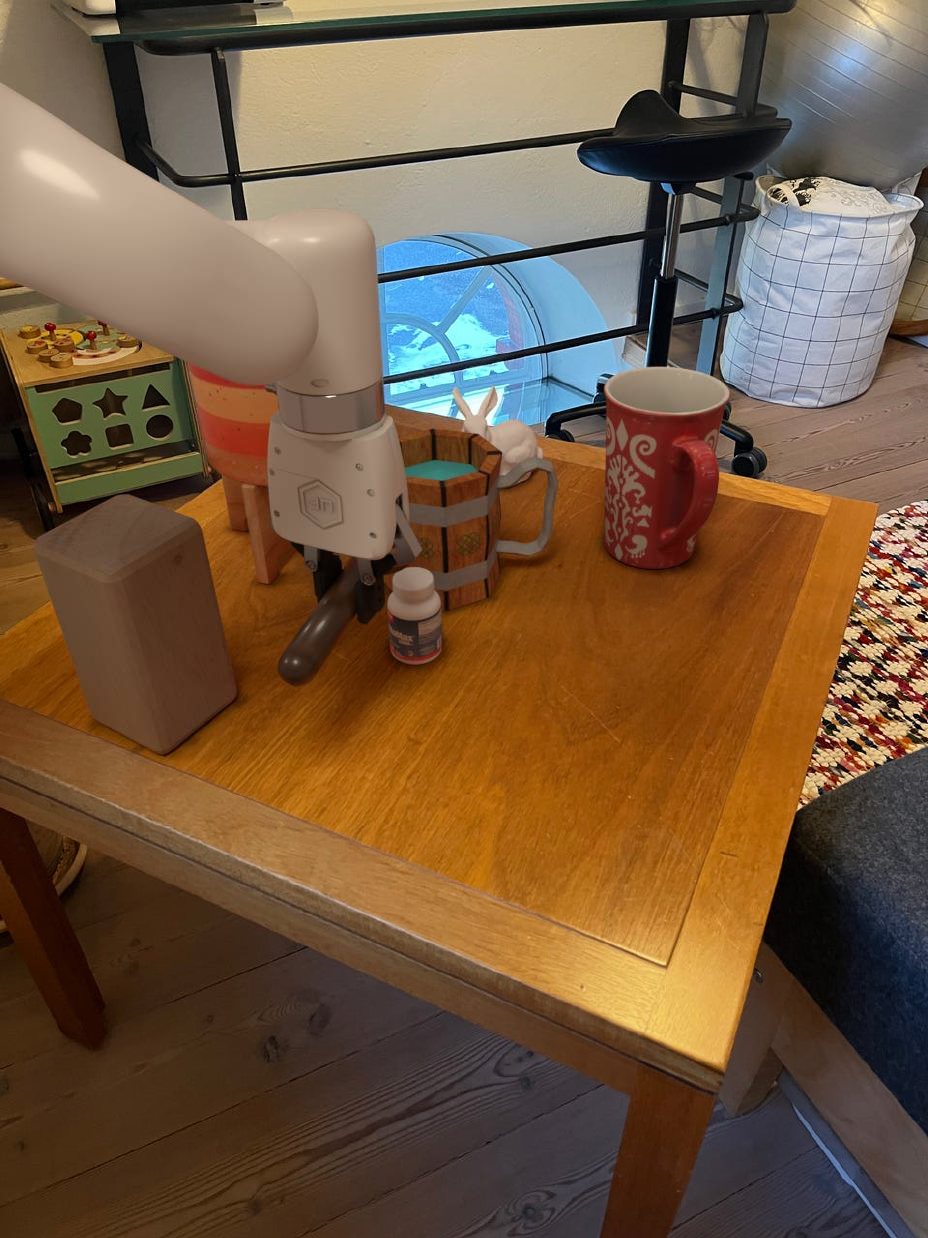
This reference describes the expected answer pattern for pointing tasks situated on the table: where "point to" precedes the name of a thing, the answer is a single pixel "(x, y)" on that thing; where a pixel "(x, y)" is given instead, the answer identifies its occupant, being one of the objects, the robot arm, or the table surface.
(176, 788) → the table surface
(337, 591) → the spoon
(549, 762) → the table surface
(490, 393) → the rabbit
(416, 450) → the mug
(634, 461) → the mug
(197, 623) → the wooden block
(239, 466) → the planter
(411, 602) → the pill bottle
